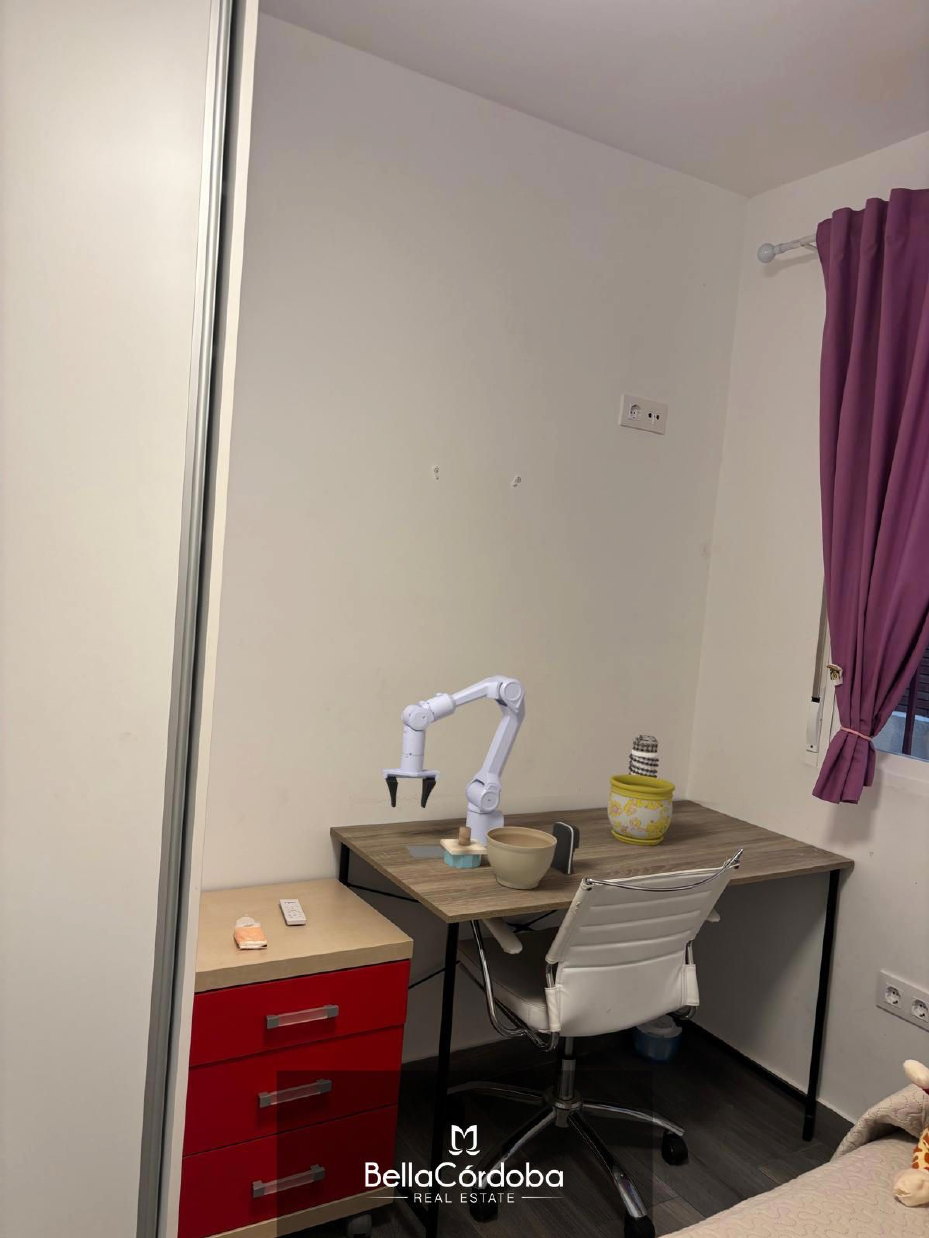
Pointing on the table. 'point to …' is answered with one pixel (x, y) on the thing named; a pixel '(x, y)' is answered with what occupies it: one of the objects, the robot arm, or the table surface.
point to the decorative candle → (644, 756)
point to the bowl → (462, 860)
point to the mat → (426, 851)
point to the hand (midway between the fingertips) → (408, 806)
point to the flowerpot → (640, 808)
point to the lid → (463, 843)
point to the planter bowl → (519, 855)
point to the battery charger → (565, 846)
